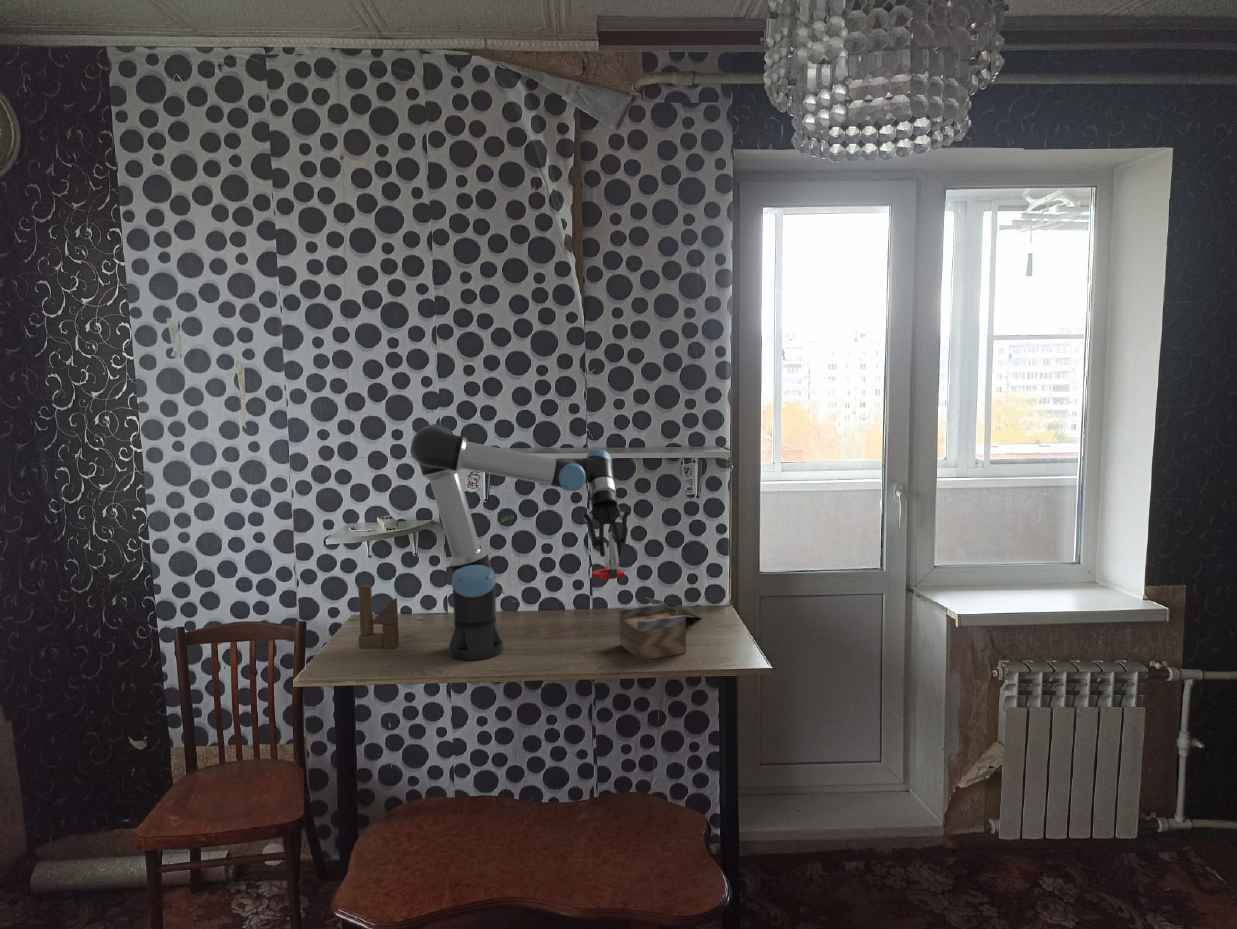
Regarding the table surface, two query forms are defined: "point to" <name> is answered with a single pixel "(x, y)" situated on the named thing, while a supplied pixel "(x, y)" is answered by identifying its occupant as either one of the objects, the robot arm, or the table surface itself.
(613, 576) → the tow hook
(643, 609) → the open wooden crate
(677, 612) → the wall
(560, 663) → the table surface
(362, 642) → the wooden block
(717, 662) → the table surface
